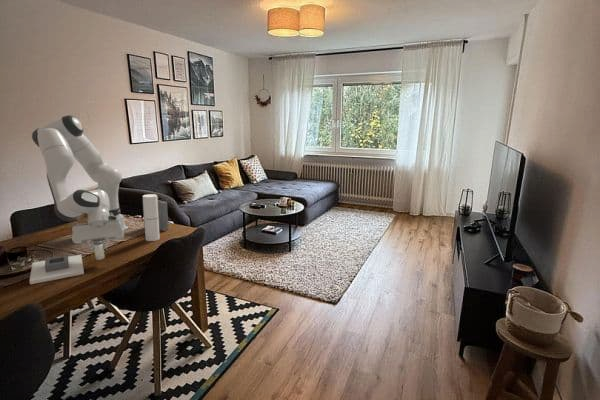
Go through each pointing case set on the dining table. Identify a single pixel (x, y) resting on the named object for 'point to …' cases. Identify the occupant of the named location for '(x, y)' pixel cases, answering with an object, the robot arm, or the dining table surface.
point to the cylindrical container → (151, 217)
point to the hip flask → (162, 215)
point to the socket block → (56, 268)
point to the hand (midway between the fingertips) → (98, 249)
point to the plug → (99, 249)
